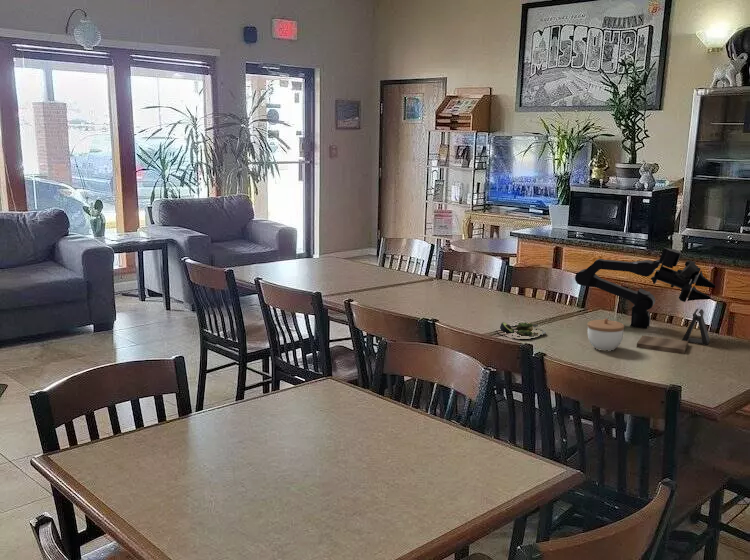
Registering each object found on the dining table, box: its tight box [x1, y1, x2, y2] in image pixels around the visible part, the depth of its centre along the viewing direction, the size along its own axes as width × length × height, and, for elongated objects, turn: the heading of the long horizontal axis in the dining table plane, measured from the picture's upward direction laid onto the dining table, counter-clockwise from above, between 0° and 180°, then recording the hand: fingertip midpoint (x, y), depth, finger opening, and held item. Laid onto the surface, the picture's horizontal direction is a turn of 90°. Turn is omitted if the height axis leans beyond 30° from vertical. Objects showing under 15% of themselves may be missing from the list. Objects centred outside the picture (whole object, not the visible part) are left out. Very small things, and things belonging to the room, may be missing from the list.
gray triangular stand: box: [681, 308, 711, 346], centre depth 263 cm, size 9×6×12 cm, turn 58°
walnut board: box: [636, 335, 689, 355], centre depth 258 cm, size 16×12×2 cm
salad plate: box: [500, 321, 546, 337], centre depth 276 cm, size 19×18×5 cm
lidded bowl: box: [587, 318, 625, 352], centre depth 255 cm, size 13×13×11 cm
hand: (712, 292), depth 270 cm, fingers open, 9 cm apart
